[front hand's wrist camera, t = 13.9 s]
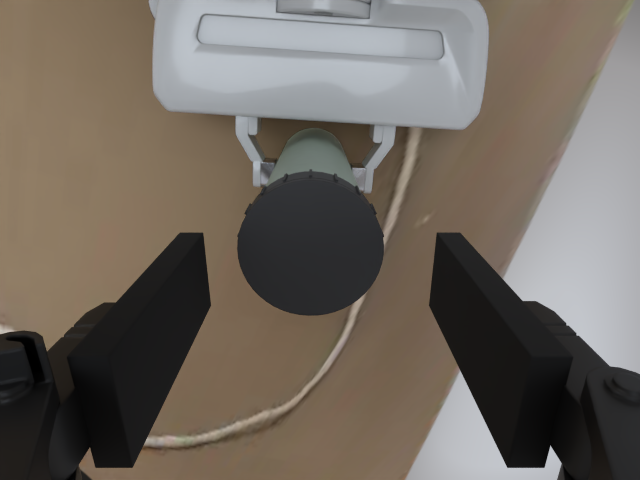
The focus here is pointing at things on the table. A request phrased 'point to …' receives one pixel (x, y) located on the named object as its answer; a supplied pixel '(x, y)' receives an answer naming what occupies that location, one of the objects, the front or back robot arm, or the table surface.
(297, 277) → the lid
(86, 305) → the table surface
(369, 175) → the back robot arm
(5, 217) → the table surface
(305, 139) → the bottle
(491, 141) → the table surface
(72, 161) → the table surface
